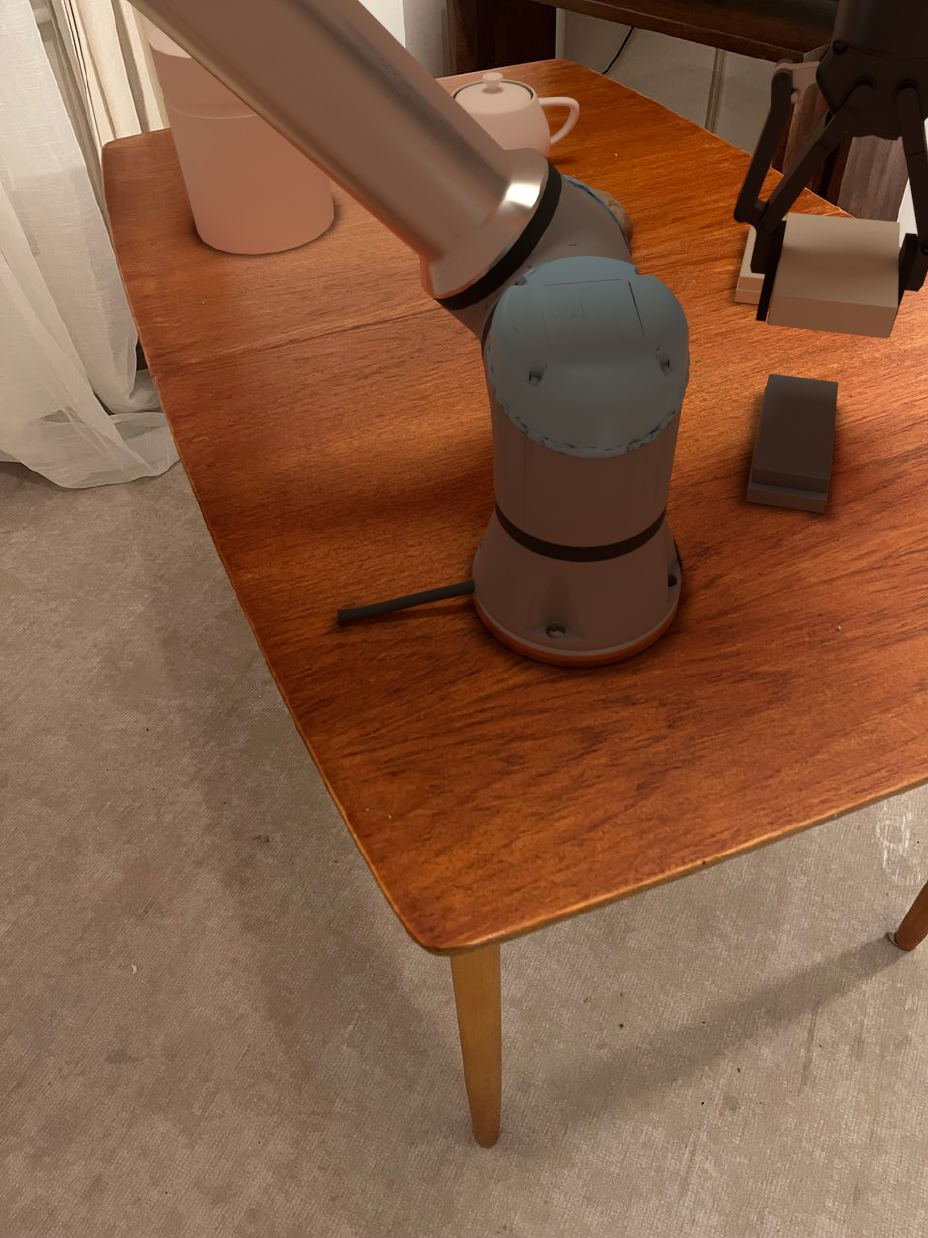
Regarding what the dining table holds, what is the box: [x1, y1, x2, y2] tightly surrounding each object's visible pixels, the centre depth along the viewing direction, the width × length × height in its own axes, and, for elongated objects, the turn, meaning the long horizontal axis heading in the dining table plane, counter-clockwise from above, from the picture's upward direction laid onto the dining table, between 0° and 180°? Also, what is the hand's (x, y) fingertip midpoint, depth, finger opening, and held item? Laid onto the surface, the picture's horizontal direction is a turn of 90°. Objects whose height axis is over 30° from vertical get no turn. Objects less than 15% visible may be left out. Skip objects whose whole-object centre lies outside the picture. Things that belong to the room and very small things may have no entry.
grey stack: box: [745, 373, 839, 514], centre depth 81 cm, size 14×6×3 cm, turn 163°
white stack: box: [734, 215, 787, 307], centre depth 101 cm, size 14×6×3 cm, turn 163°
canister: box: [147, 26, 335, 256], centre depth 107 cm, size 16×16×20 cm
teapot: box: [450, 71, 580, 158], centre depth 116 cm, size 22×14×11 cm, turn 95°
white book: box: [766, 212, 901, 340], centre depth 70 cm, size 12×8×2 cm, turn 163°
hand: (822, 318), depth 73 cm, fingers closed on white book, 8 cm apart
